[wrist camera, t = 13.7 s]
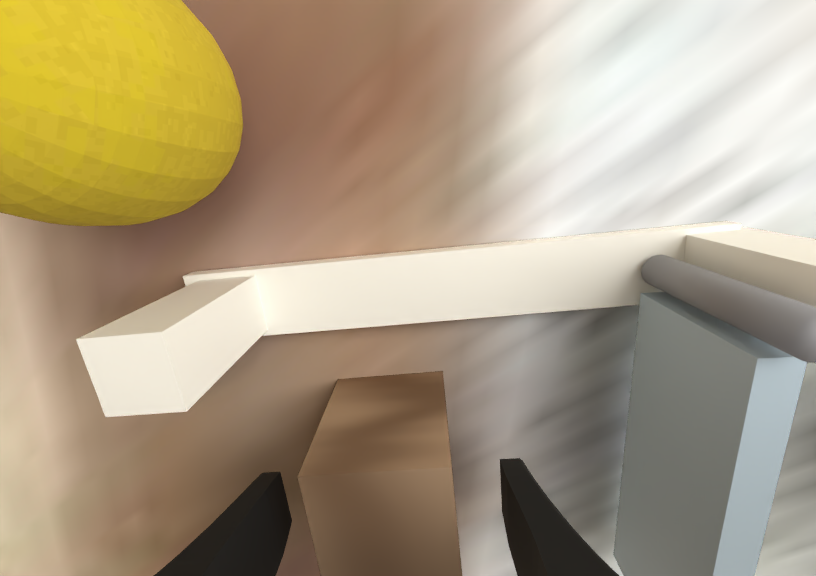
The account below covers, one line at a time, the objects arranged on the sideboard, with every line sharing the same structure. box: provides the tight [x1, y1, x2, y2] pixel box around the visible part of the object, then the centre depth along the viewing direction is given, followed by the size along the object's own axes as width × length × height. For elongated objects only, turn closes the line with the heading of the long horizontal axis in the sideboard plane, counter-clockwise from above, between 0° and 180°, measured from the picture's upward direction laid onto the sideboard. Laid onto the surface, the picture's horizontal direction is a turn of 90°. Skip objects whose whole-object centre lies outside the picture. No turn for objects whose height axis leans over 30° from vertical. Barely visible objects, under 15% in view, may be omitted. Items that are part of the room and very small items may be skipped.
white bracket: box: [76, 221, 816, 417], centre depth 11 cm, size 18×2×5 cm, turn 96°
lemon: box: [0, 0, 243, 226], centre depth 8 cm, size 6×6×8 cm
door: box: [613, 255, 816, 576], centre depth 11 cm, size 12×2×5 cm, turn 4°
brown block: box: [298, 371, 462, 576], centre depth 13 cm, size 4×6×5 cm, turn 6°
